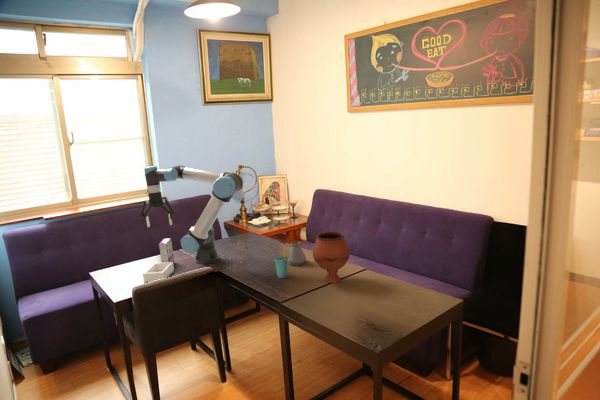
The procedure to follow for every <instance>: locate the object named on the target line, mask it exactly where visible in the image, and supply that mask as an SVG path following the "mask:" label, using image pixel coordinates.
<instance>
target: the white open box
mask: <svg viewBox="0 0 600 400" xmlns="http://www.w3.org/2000/svg"><path fill="white" fill-rule="evenodd" d="M174 272H175V266H174V263H173V262H163V263H162V262H154V263H152V265H150V267H148V268H147V269H146V270H145V271H144V272H143V273H142V276H143V283H144V284H148V283H147V282H150V281H154V280H158V279H162V278H166V277H168V278H170V276H171V275H172V274H173V273H174Z"/></svg>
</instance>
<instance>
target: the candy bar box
mask: <svg viewBox="0 0 600 400" xmlns="http://www.w3.org/2000/svg"><path fill="white" fill-rule="evenodd" d="M158 248H159V253H160V260H161V263H163V262H173V264H175V258H174V257H175V256H174V250H173V243H172V238H167V237H166V238H163V239H162V240H161V241H160V242H159V243H158Z"/></svg>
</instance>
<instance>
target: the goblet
mask: <svg viewBox="0 0 600 400" xmlns="http://www.w3.org/2000/svg"><path fill="white" fill-rule="evenodd" d="M312 257H313V260H314V262H315V264H317V265H318V266H319V268H321V269H323V270H325V271H326V273H327V274H326V275H325V277H324V279H323V280H324V282H325V283H328V284H336V283H338V282H340V281H341V277H340V276H339V274H338V273H339V270H340V269H342V268H343V267H344V266H345V265H346V264H347V262H348V261H349V259H350V249H349V247H348V243H347V241H346V239H345V235H344V233H343V232H340V231H327V232H322V233H319V234H317V235H316V240H315V242H314V245H313V249H312Z"/></svg>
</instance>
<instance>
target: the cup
mask: <svg viewBox="0 0 600 400" xmlns="http://www.w3.org/2000/svg"><path fill="white" fill-rule="evenodd" d="M273 256H274V258H273V261H274V264H275V270H276V276H277V278H278V279H284V278H287V277H288V258H289V256H290V250H286V249H285V250H283V252H282V253H281V255H277V254H276V253H272V254H271V255H270V258H272V257H273Z"/></svg>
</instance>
